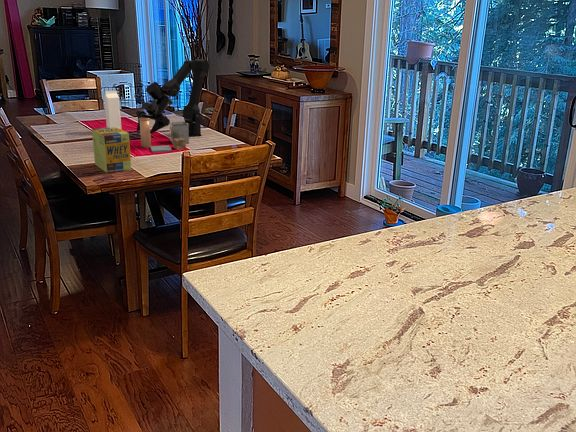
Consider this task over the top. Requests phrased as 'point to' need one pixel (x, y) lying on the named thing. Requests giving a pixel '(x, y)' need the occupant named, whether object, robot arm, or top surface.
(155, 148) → the pad
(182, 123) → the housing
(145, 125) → the canister
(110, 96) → the milk
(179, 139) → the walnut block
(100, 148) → the protein box
